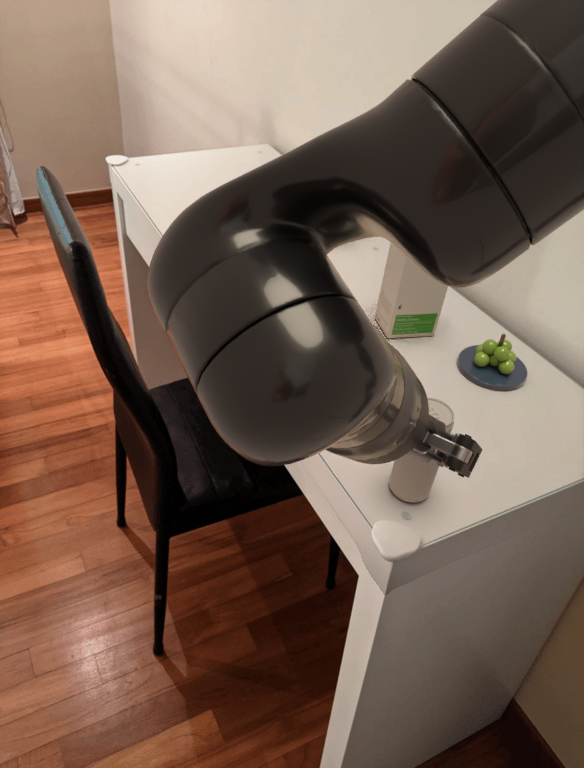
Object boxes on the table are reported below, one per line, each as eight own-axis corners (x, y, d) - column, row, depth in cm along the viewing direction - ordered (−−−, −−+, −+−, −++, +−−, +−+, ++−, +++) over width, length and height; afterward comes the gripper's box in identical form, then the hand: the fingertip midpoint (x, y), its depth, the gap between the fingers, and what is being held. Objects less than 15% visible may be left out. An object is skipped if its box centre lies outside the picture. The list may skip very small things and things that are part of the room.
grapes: (540, 381, 88) (555, 346, 84) (487, 397, 85) (501, 361, 81) (494, 343, 95) (506, 309, 91) (443, 356, 91) (454, 321, 87)
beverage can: (413, 468, 73) (437, 392, 65) (438, 497, 70) (465, 420, 62) (380, 480, 71) (400, 402, 63) (403, 510, 68) (427, 432, 60)
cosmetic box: (386, 339, 93) (407, 246, 84) (372, 316, 98) (390, 225, 88) (436, 336, 95) (462, 245, 85) (420, 313, 100) (443, 224, 90)
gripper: (494, 393, 36) (498, 428, 51) (293, 307, 42) (350, 362, 57) (438, 507, 36) (459, 508, 51) (244, 406, 41) (314, 434, 56)
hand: (402, 431), depth 54 cm, fingers open, 8 cm apart
